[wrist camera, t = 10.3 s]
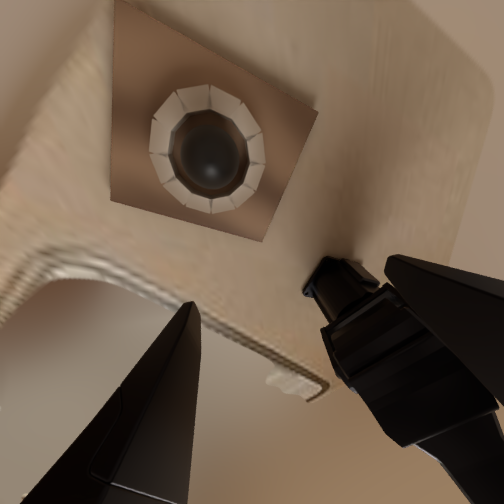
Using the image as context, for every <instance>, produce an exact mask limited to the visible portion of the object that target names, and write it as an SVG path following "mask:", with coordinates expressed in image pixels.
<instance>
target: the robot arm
mask: <svg viewBox="0 0 504 504" xmlns="http://www.w3.org/2000/svg"><path fill="white" fill-rule="evenodd" d="M327 260H328V261H327ZM384 273H385V275H386V277H387V278H388V279H389V280H390V282H391V283H392V284H393V286H394V287H395V288H394V287H393V286H392V285H390V284H389V283H388V282H386V283H385V284H384V285H382V286H383V287H381V288H379V287H378V286H379V285H380V282H379V281H378V280H377V279H376V278H375V277H374V276H372V275H371V274H370V273H369V272H368V271H367V270H366V269H365V268H364V267H363V266H361V265H360V264H359V263H357V262H353V261H350V260H347V259H341V260H340V259H336V258H333V257H329V256H326V257H324V258H323V260H322V261H321V263H320V265H319V266H318V268H317V269H316V271H315V272H314V274H313V276H312V277H311V279H310V280H309V282H308V284H307V285H306V287H305V288H304V290H303V292H302V293H303V295H304V296H306V297H311V298H314V300H315V301H316V303H317V304H318V306H319V308H320V309H321V311H322V313H323V314H324V316H325V318H326V319H327V321H328V323H329V324H328V325H327V326H326V327H323V328H321V329H320V331H321V334H322V339H323V341H324V344H325V347H326V350H327V353H328V355H329V358H330V361H331V364H332V367H333V369H334V371H335V374H336V376H337V377H338V378H339V379H342V380H343V382H344V383H345V384H346V385H347V386H348V388H349V389H350V390H352V391H353V392H354V393H356V394H359V395H360V396H361V398H362V399H363V401H364V402H365V403H366V405H367V406H368V408H369V409H370V411H371V412H372V414H373V415H374V417H375V418H376V420H377V421H378V423H379V425H380V426H381V427H382V429H383V431H384V432H385V434H386V435H388V436H389V437H390V438H391V439H392V440H393V441H395V442H396V443H397V444H398V445H400V446H401V447H402V448H406V447H409V446H411V445H414V446H416V447H417V448H419V449H420V450H422V451H423V452H425V453H426V454H428V455H429V456H431V457H432V458H434V459H435V460H437V461H438V462H439V463H440V464H441V466H442V467H443V468H444V469H445V471H446V472H447V473H448V474H449V476H450V477H451V478H452V480H453V481H454V482H455V484H456V485H457V486H458V487H459V489H460V490H461V491H462V493H463V494H464V495H465V497H466V498H467V499H468V500H469V502H470V503H471V504H504V435H503V432H502V429H501V427H500V424H499V421H498V419H497V416H496V413H495V411H496V410H498V409H499V405H498V403H497V402H496V399H497V400H498V401H499V402H500V403H501V404H502V405H503V406H504V281H502V280H499V279H495V278H491V277H487V276H483V275H479V274H475V273H471V272H467V271H463V270H459V269H455V268H451V267H448V266H444V265H440V264H436V263H432V262H428V261H424V260H420V259H416V258H412V257H408V256H404V255H400V254H396V255H392V256H389V257H388V258H387V261H386V265H385V269H384ZM200 361H201V317H200V313H199V311H198V308H197V306H196V304H195V302H194V301H190V302H186V303H184V304H183V305H182V306H181V307H180V308H179V310H178V311H177V312H176V314H175V315H174V316H173V318H172V319H171V320H170V321H169V323H168V324H167V325H166V326H165V328H164V329H163V330H162V332H161V333H160V334H159V336H158V337H157V338H156V340H155V341H154V342H153V343H152V344H151V346H150V347H149V348H148V350H147V351H146V352H145V353H144V355H143V356H142V358H141V359H140V360H139V361H138V363H137V364H136V365H135V366H134V368H133V369H132V370H131V372H130V373H129V374H128V375H127V377H126V378H125V379H124V381H123V382H122V383H121V385H120V387H118V388H117V389H116V391H115V392H114V393H113V394H112V396H111V397H110V398H109V400H108V401H107V402H106V403H105V405H104V406H103V407H102V409H101V410H100V411H99V412H98V413H97V415H96V416H95V417H94V418H93V420H92V421H91V422H90V423H89V424H88V426H87V427H86V428H85V429H84V430H83V431H82V433H81V434H80V435H79V436H78V437H77V438H76V440H75V441H74V442H73V443H72V444H71V445H70V447H69V448H68V449H67V450H66V451H65V452H64V453H63V455H62V456H61V457H60V458H59V459H58V460H57V462H56V463H55V464H54V465H53V466H52V467H51V468H50V470H49V471H48V472H47V473H46V474H45V475H44V476H43V478H42V479H41V480H40V481H39V483H38V484H37V485H36V486H35V487H34V488H33V489H32V490H31V491H30V492H29V494H28V495H27V496H26V497H25V498H24V499H23V501H22V502H21V503H20V504H187V501H188V491H189V480H190V469H191V458H192V447H193V436H194V426H195V415H196V404H197V394H198V383H199V371H200ZM495 398H496V399H495Z"/></svg>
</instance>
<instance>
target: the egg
mask: <svg viewBox="0 0 504 504" xmlns="http://www.w3.org/2000/svg"><path fill="white" fill-rule="evenodd" d="M180 157H181V163H182V166H183V169H184V171H185V172H186V174H187V176H188V177H189V178H190V179H191V180H192V181H193V182H194V183H196V184H197V185H199V186H201V187H203V188H206V189H219V188H222V187H224V186H226V185H228V184H229V183H230V182H231V181H232V180H233V179H234V177H235V176H236V174H237V171H238V167H239V152H238V149H237V146H236V144H235V142H234V140H233V139H232V137H231V136H230V135H229V134H228V133H227V132H226V131H224V130H223V129H221V128H219V127H217V126H214V125H200V126H197V127H195V128H193V129H192V130H191V131H189V132H188V133H187V135H186V136H185V138H184V140H183V142H182V145H181V150H180Z"/></svg>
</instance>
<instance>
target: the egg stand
mask: <svg viewBox="0 0 504 504" xmlns="http://www.w3.org/2000/svg"><path fill="white" fill-rule="evenodd" d="M318 113H319V112H318V111H316V110H314V109H312V108H311V107H309V106H307V105H305V104H304V103H302V102H300V101H298V100H297V99H295V98H293V97H291V96H290V95H288V94H286V93H284V92H282V91H281V90H279V89H277V88H275V87H274V86H272V85H270V84H268V83H267V82H265V81H263V80H261V79H260V78H258V77H256V76H254V75H253V74H251V73H249V72H247V71H246V70H244V69H242V68H240V67H238V66H237V65H235V64H233V63H231V62H230V61H228V60H226V59H224V58H223V57H221V56H219V55H217V54H216V53H214V52H212V51H210V50H209V49H207V48H205V47H203V46H202V45H200V44H198V43H196V42H194V41H193V40H191V39H189V38H187V37H186V36H184V35H182V34H180V33H179V32H177V31H175V30H173V29H172V28H170V27H168V26H166V25H165V24H163V23H161V22H159V21H158V20H156V19H154V18H152V17H151V16H149V15H147V14H145V13H143V12H142V11H140V10H138V9H136V8H135V7H133V6H131V5H129V4H128V3H126V2H124V1H122V0H114V49H113V98H112V148H111V197H110V201H114V202H117V203H121V204H125V205H128V206H132V207H136V208H139V209H143V210H146V211H150V212H154V213H157V214H161V215H165V216H168V217H172V218H175V219H179V220H183V221H186V222H190V223H194V224H197V225H201V226H204V227H208V228H212V229H215V230H219V231H223V232H226V233H230V234H233V235H237V236H241V237H244V238H248V239H252V240H255V241H259V242H262V241H263V239H264V236H265V234H266V232H267V229H268V227H269V225H270V223H271V220H272V218H273V216H274V213H275V211H276V209H277V207H278V204H279V202H280V200H281V197H282V195H283V193H284V191H285V188H286V186H287V184H288V181H289V179H290V177H291V175H292V172H293V170H294V168H295V165H296V163H297V161H298V158H299V156H300V154H301V152H302V149H303V147H304V145H305V142H306V140H307V138H308V136H309V133H310V131H311V129H312V126H313V124H314V122H315V120H316V117H317V115H318ZM200 125H214V126H217V127H219V128H221V129H223V130H224V131H226V132H227V133H228V134H229V135H230V136H231V137H232V139H233V140H234V142H235V144H236V146H237V149H238V152H239V167H238V171H237V174H236V176H235V177H234V179H233V180H232V181H231V182H230V183H229V184H228V185H226V186H224V187H222V188H219V189H206V188H203V187H201V186H199V185H197V184H196V183H194V182H193V181H192V180H191V179H190V178H189V177H188V176H187V174H186V172H185V171H184V169H183V166H182V163H181V157H180V150H181V145H182V142H183V140H184V138H185V136H186V135H187V133H188V132H189V131H191V130H192V129H193V128H195V127H197V126H200Z"/></svg>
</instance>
